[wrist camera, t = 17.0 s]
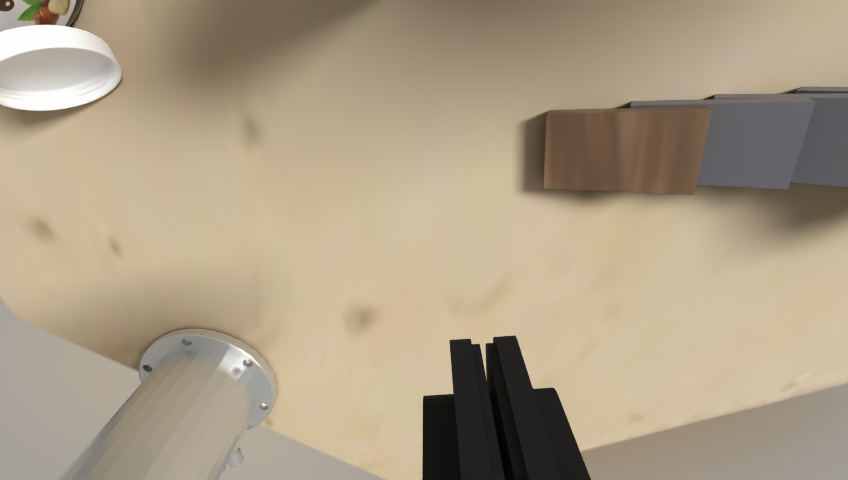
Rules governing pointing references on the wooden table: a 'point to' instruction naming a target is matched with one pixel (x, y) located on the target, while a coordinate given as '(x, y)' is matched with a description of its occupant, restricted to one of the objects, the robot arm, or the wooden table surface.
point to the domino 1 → (626, 149)
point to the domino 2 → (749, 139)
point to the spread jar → (51, 57)
